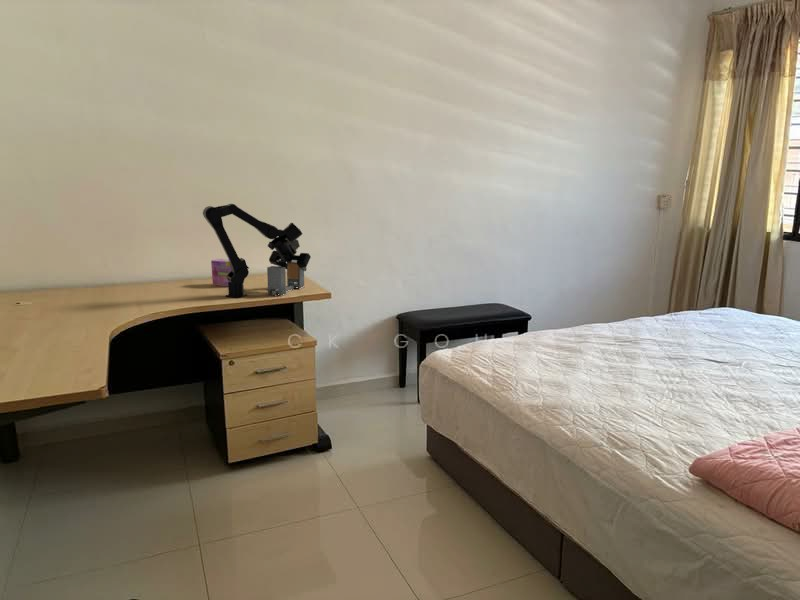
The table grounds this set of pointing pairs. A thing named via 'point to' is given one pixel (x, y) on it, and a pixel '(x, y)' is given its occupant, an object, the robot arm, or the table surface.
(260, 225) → the robot arm
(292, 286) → the rail
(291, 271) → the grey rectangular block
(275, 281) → the tall grey block
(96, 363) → the table surface
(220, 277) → the box
